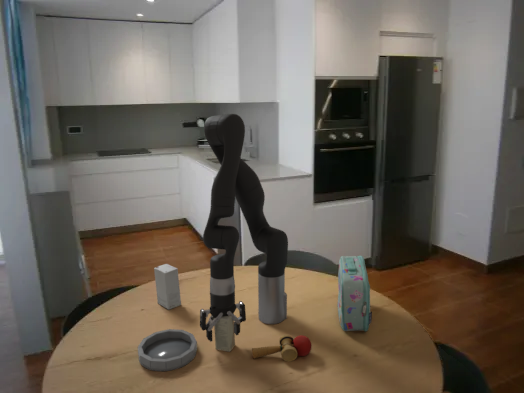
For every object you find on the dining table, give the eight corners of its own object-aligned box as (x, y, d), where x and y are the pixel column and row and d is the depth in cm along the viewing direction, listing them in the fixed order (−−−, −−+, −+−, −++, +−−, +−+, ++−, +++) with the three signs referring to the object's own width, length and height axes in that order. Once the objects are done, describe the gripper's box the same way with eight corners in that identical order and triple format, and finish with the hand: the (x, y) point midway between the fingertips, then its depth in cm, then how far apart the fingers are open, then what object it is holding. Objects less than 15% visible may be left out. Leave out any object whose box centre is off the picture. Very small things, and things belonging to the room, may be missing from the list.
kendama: (255, 371, 120) (315, 359, 121) (251, 350, 120) (312, 338, 121) (253, 359, 128) (310, 348, 129) (250, 339, 127) (307, 328, 129)
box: (235, 344, 131) (234, 312, 128) (230, 352, 127) (229, 319, 124) (220, 341, 132) (219, 310, 130) (214, 349, 128) (213, 316, 126)
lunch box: (372, 340, 133) (376, 278, 128) (339, 338, 134) (342, 276, 129) (362, 301, 159) (365, 248, 154) (335, 300, 160) (337, 247, 155)
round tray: (188, 333, 137) (188, 324, 137) (203, 361, 122) (202, 352, 121) (135, 345, 130) (134, 336, 130) (143, 377, 115) (142, 367, 114)
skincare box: (181, 305, 157) (179, 268, 153) (167, 310, 153) (165, 273, 149) (169, 298, 163) (167, 262, 159) (155, 303, 158) (153, 266, 155)
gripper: (240, 280, 132) (240, 326, 135) (196, 288, 126) (198, 336, 129) (248, 289, 125) (249, 338, 128) (203, 298, 119) (204, 348, 123)
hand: (223, 337), depth 129 cm, fingers open, 8 cm apart
